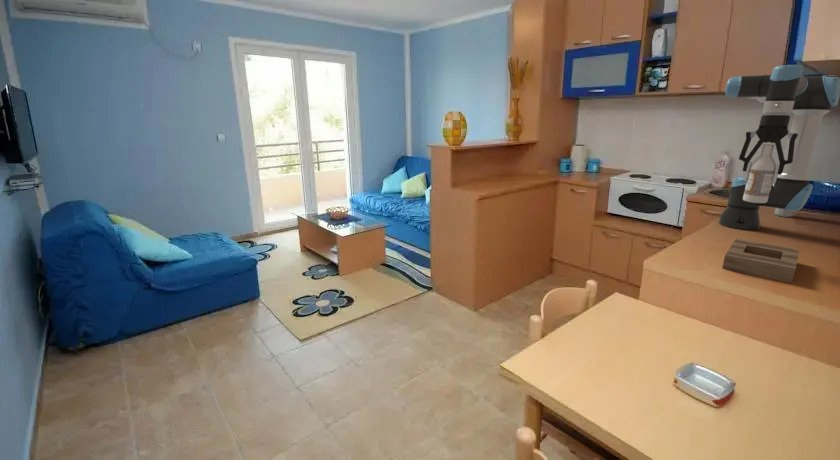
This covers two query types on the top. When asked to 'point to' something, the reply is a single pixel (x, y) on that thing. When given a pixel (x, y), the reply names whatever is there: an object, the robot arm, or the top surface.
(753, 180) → the bath foam
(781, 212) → the water bottle
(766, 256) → the walnut holder
